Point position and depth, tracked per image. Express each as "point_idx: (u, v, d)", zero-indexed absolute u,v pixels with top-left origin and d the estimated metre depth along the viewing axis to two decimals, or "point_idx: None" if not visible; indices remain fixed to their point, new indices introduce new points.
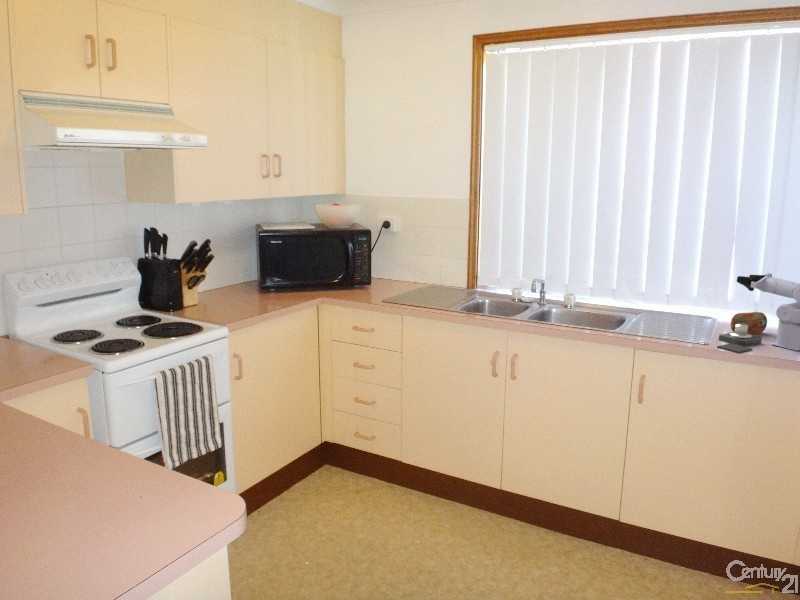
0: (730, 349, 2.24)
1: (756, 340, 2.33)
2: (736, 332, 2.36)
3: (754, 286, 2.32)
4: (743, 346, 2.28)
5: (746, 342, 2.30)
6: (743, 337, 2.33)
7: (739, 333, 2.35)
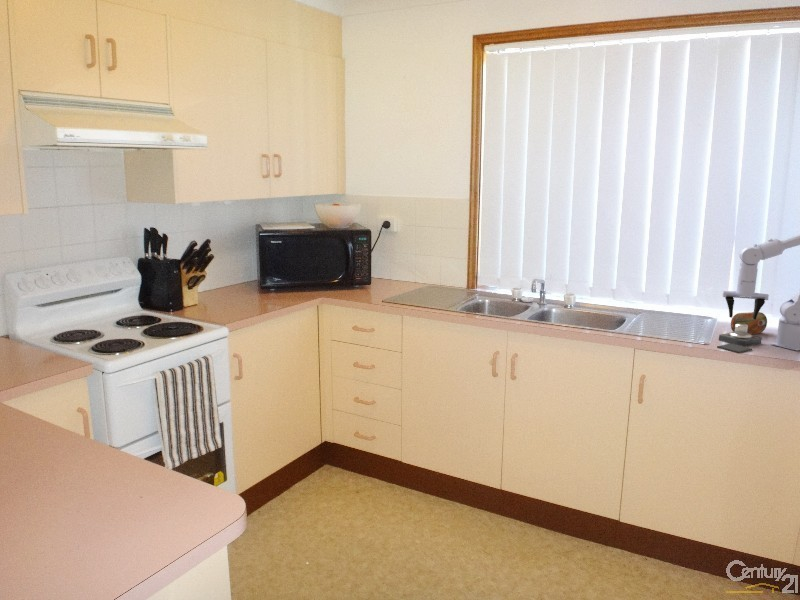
0: (730, 349, 2.24)
1: (756, 340, 2.33)
2: (736, 332, 2.36)
3: (723, 292, 2.35)
4: (743, 346, 2.28)
5: (746, 342, 2.30)
6: (743, 337, 2.33)
7: (739, 333, 2.35)
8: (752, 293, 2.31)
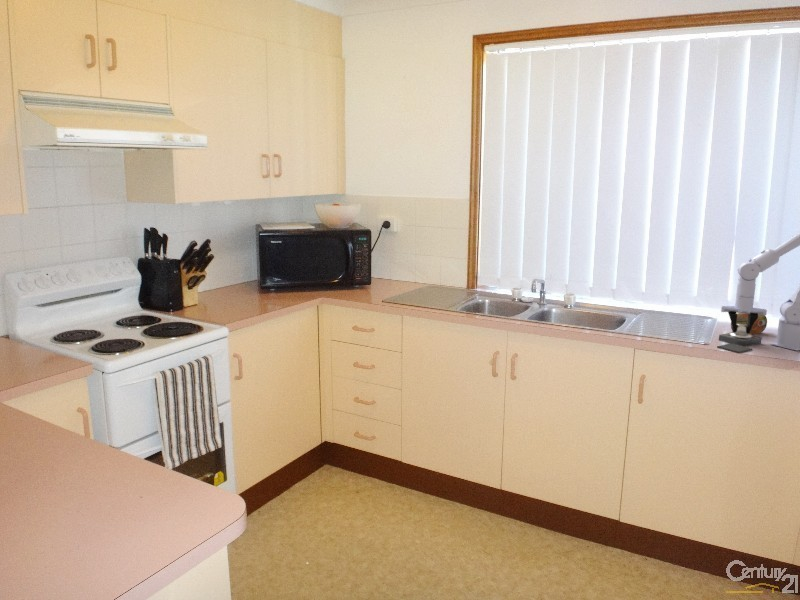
0: (730, 349, 2.24)
1: (756, 340, 2.33)
2: (736, 332, 2.36)
3: (721, 307, 2.36)
4: (743, 346, 2.28)
5: (746, 342, 2.30)
6: (743, 337, 2.33)
7: (739, 333, 2.35)
8: (750, 308, 2.32)
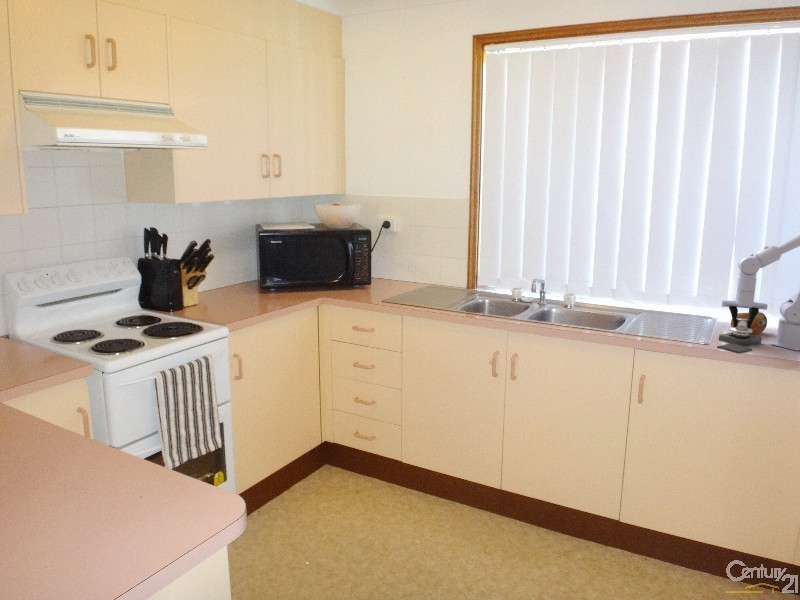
0: (730, 349, 2.24)
1: (756, 340, 2.33)
2: (737, 327, 2.35)
3: (722, 302, 2.36)
4: (743, 346, 2.28)
5: (746, 342, 2.30)
6: (744, 332, 2.33)
7: (740, 328, 2.34)
8: (751, 303, 2.31)
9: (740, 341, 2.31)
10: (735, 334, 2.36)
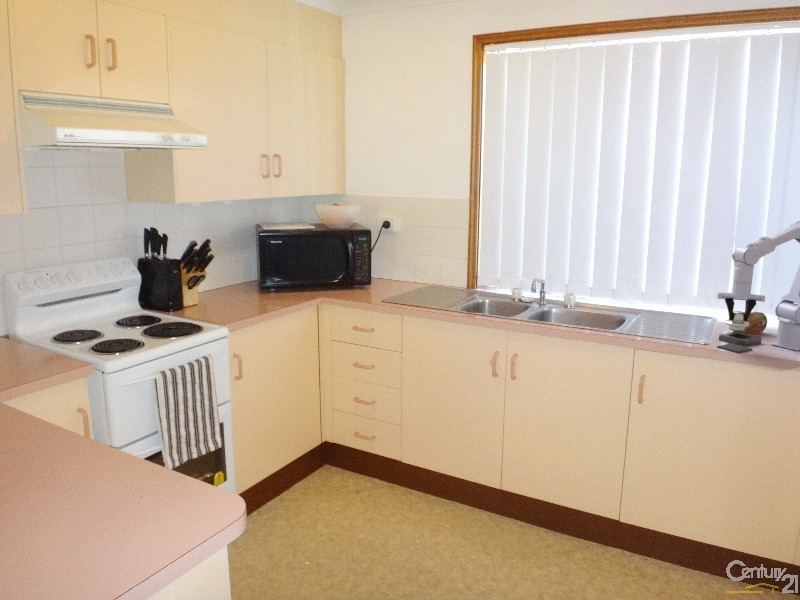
0: (730, 349, 2.24)
1: (756, 340, 2.33)
2: (733, 320, 2.25)
3: (717, 294, 2.25)
4: (743, 346, 2.28)
5: (746, 342, 2.30)
6: (740, 325, 2.22)
7: (736, 321, 2.24)
8: (748, 295, 2.21)
9: (740, 341, 2.31)
10: (731, 327, 2.25)
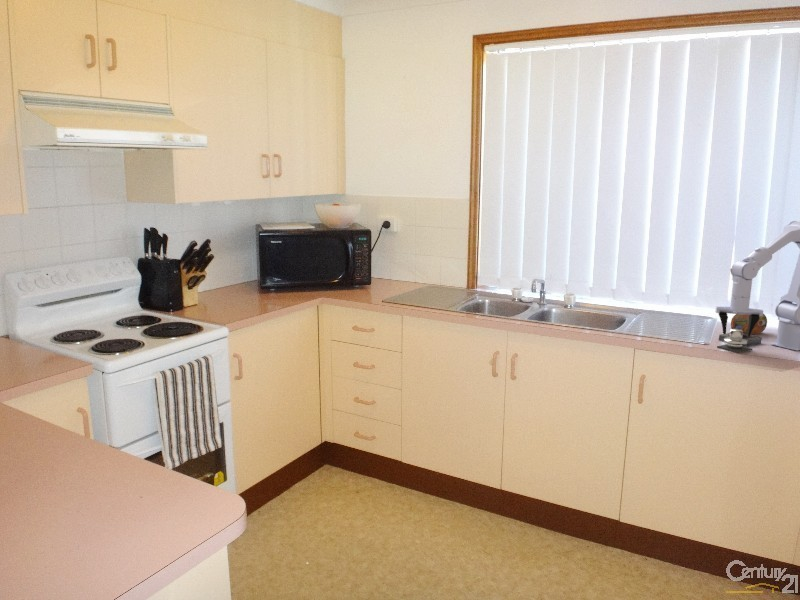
0: (730, 349, 2.24)
1: (756, 340, 2.33)
2: (731, 338, 2.26)
3: (716, 308, 2.26)
4: (743, 346, 2.28)
5: None
6: (738, 343, 2.24)
7: (734, 339, 2.25)
8: (746, 309, 2.22)
9: None
10: (729, 345, 2.27)
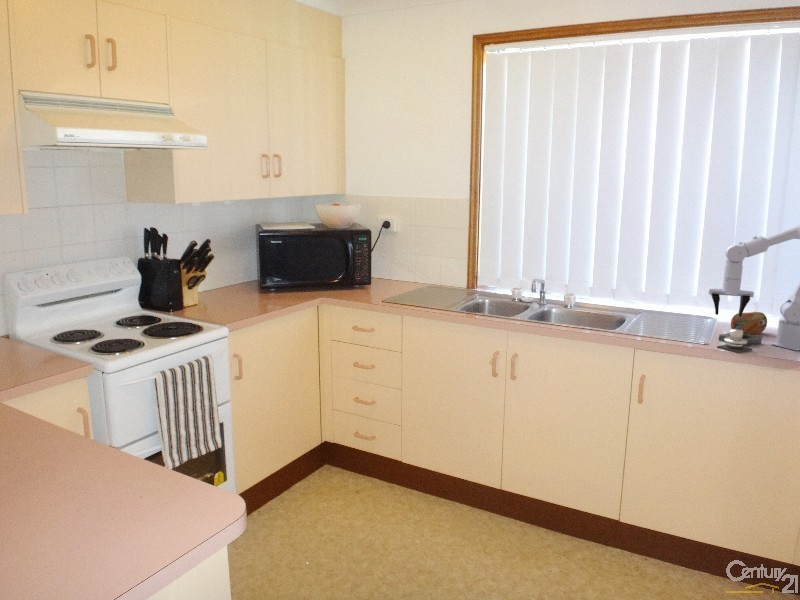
0: (730, 349, 2.24)
1: (756, 340, 2.33)
2: (731, 337, 2.26)
3: (709, 290, 2.37)
4: (743, 346, 2.28)
5: None
6: (738, 343, 2.24)
7: (734, 339, 2.25)
8: (737, 291, 2.33)
9: None
10: (729, 345, 2.27)
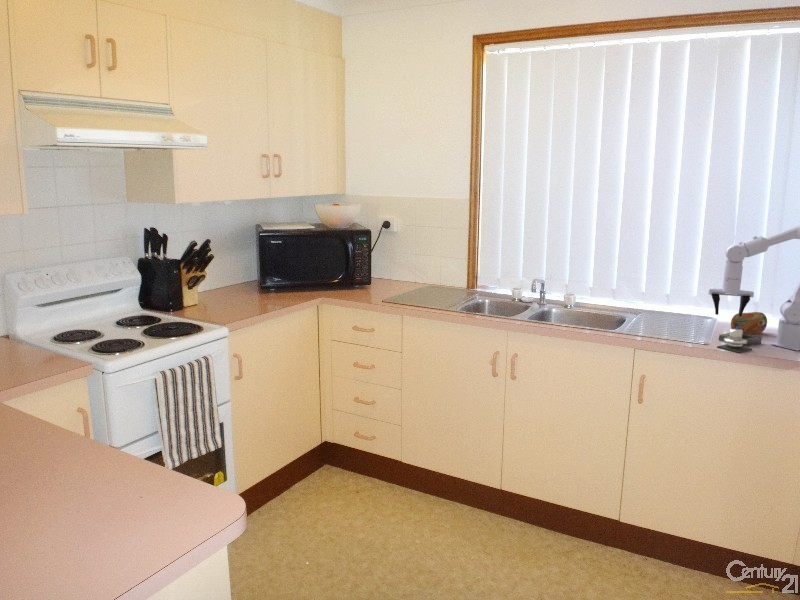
0: (730, 349, 2.24)
1: (756, 340, 2.33)
2: (730, 337, 2.26)
3: (709, 290, 2.37)
4: (743, 346, 2.28)
5: None
6: (737, 342, 2.24)
7: (733, 338, 2.25)
8: (737, 291, 2.33)
9: None
10: (729, 345, 2.27)
